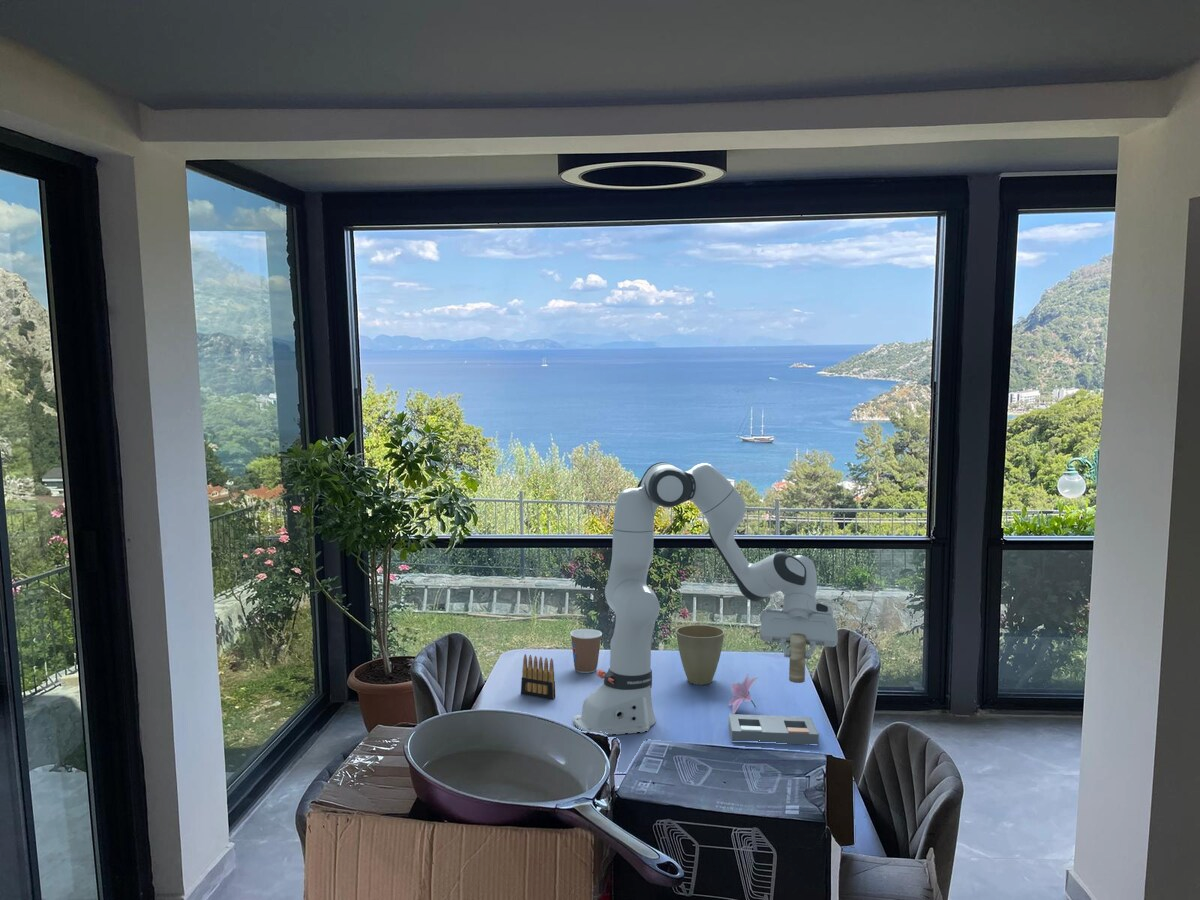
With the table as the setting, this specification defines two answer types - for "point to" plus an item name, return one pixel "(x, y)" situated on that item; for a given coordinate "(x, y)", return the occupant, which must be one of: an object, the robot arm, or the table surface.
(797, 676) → the peg
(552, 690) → the ammunition clip
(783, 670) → the table surface
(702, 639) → the plant pot
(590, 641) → the coffee cup
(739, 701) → the lily
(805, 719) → the socket deck
